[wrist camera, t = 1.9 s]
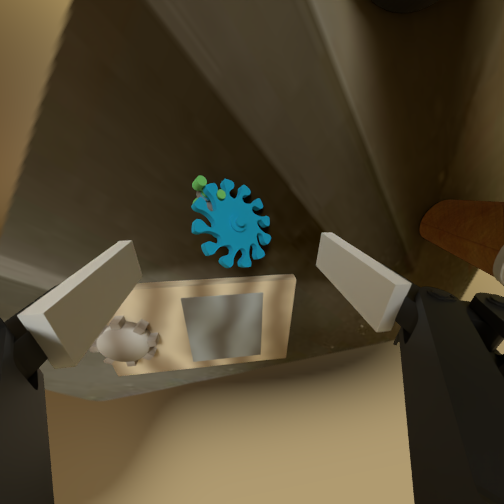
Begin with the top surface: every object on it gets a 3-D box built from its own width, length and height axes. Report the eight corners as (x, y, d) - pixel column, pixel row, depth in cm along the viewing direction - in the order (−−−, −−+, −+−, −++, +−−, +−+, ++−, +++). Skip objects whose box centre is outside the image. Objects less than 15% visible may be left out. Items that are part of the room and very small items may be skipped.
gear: (286, 232, 24) (241, 288, 19) (257, 241, 29) (214, 288, 23) (235, 154, 21) (162, 193, 15) (212, 178, 26) (149, 215, 20)
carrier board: (293, 273, 29) (299, 285, 26) (283, 350, 37) (288, 365, 34) (79, 286, 26) (62, 301, 23) (119, 368, 34) (109, 386, 31)
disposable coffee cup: (483, 202, 28) (646, 228, 17) (436, 256, 31) (546, 305, 20) (443, 176, 25) (604, 186, 14) (396, 237, 28) (497, 283, 18)
